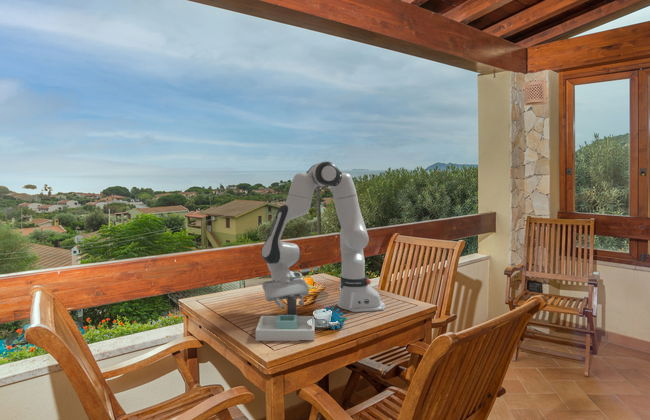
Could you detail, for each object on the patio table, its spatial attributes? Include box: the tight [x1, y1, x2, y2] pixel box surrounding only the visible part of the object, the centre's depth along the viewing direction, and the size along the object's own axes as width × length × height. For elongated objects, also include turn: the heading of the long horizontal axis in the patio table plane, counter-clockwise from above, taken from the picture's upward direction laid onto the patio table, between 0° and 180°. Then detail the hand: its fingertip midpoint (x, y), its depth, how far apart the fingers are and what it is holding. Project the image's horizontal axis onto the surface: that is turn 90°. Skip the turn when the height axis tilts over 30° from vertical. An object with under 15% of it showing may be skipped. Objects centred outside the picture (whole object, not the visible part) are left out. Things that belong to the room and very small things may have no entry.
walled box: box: [255, 314, 316, 342], centre depth 162 cm, size 22×16×5 cm
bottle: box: [286, 295, 297, 315], centre depth 179 cm, size 4×4×10 cm
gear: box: [322, 306, 348, 330], centre depth 170 cm, size 11×6×10 cm
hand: (292, 306), depth 178 cm, fingers open, 8 cm apart
